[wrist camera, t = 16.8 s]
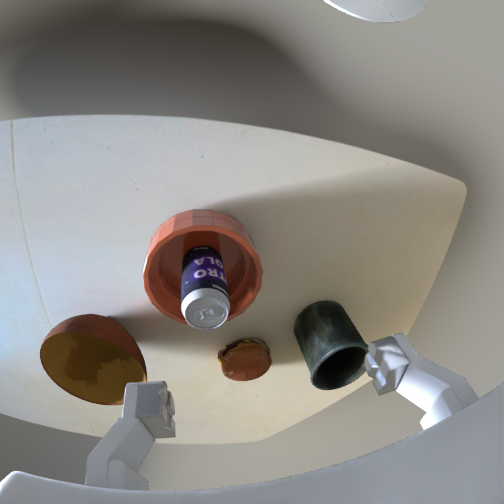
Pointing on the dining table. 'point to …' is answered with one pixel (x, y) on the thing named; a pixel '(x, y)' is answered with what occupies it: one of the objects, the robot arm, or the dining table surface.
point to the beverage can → (204, 289)
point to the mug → (330, 345)
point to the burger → (245, 359)
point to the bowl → (93, 359)
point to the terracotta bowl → (201, 234)
